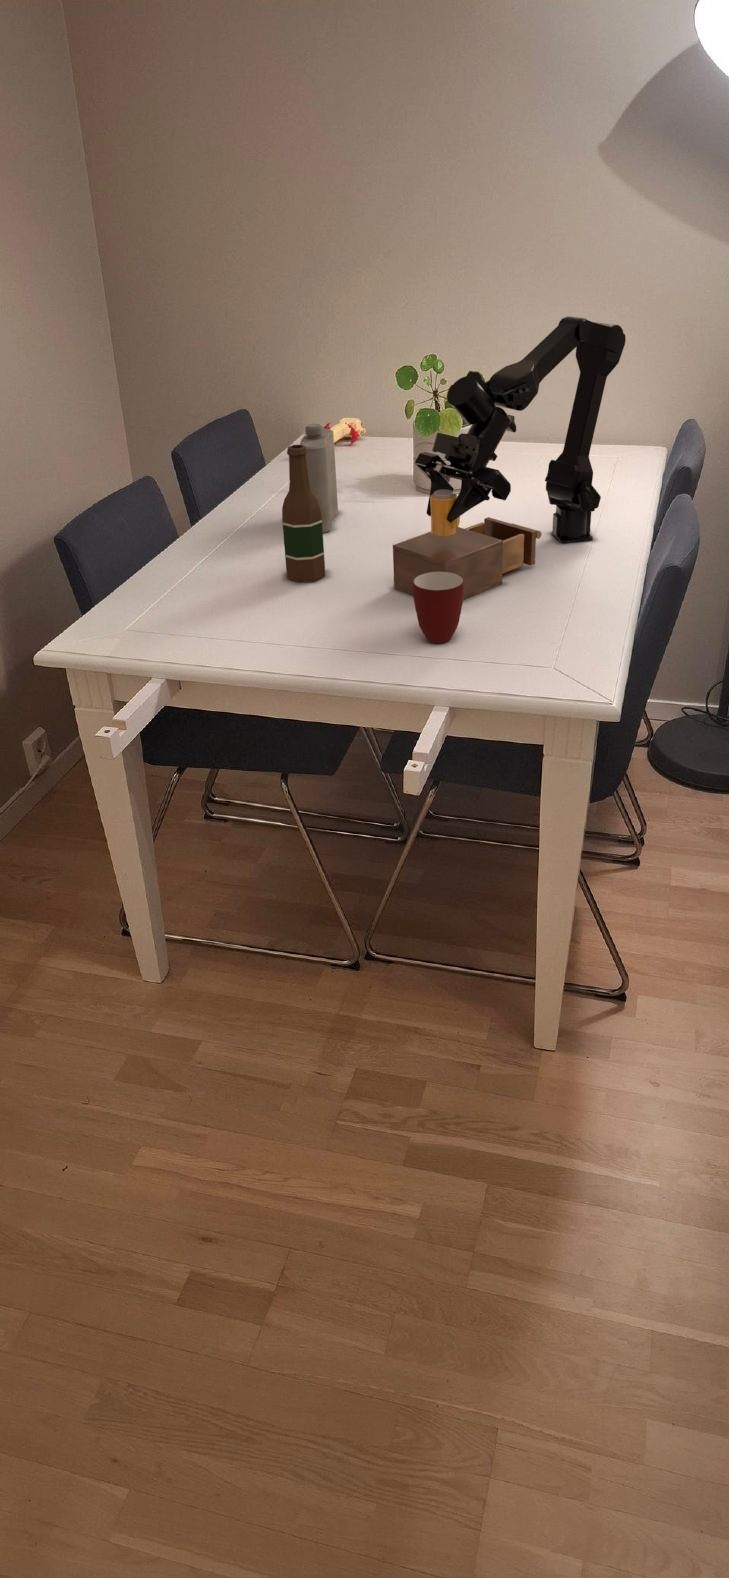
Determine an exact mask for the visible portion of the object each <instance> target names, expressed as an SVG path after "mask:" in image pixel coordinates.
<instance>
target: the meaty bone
mask: <svg viewBox="0 0 729 1578" xmlns="http://www.w3.org/2000/svg"><path fill="white" fill-rule="evenodd" d="M332 423H333V421H330V422H328V423H326V424H325V425H323V429H330V430H332V431H333V434H334V444H335V443H336V442H337V441H339V440H341V439H343V438H351V440H350V443H348V446H351V445H353V444H354V443H356V441H358V439H359V438H360V437H362V435H364V434H365V433H366V431H367V430H366V428H363V427H362V426H363V422H362V420H361V419H360V418H357V417H343V418H342V419H340V420H339V421H338V422H337V423H338V424H334V425H333V426H332V427H330V424H332Z"/></svg>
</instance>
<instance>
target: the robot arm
mask: <svg viewBox="0 0 729 1578" xmlns="http://www.w3.org/2000/svg"><path fill="white" fill-rule="evenodd" d="M626 340H627V339H626V334H625V333H624V329H623V328H622V326H621V325H619V324H613V323H606V322H598V321H597V322H596V321H591V320H588V319H587V318H585V317H579V316H570V315H569V316H565V317H563V318H561V319H560V321H559V322H558V325H557V326H556V327H555V328H554V329H553V330H552V331H551V332H550V333H549V334H548V335H547V336H545V337H544V338H543V339H542V340H541V341H540V342H539V343H538V344H537V345H536V346H535V347H534V348H533V349H532V350H531V351H529V352H528V354H526V356H525V357H523V358H522V359H521V360H519V361H517V362H514V363H511V364H508V365H505V366H504V367H502V368H501V369H499V370H498V371H496V372H495V373H493V374H492V375H491V377H490V378H489V379H488V380H486V381H484V379H483V376H482V375H481V374H480V372H478V371H474V370H473V371H472V370H469V371H468V372H467V374H466V375H465V376H463V377H460V378H459V379H457V380H456V381H455V382H454V383H452V384H451V385H450V386H449V388H448V390H447V393H446V400H447V402H448V404H449V405H450V407H452V408H453V410H454V411H455V412H456V413H457V414H458V415H459V417H460V418H461V419H462V420H463V421H464V423H466V424H468V425H471V426H470V428H469V429H468V431H467V432H466V433H465V432H464V433H460V434H459V435H458V436H456V435H455V436H454V435H450V434H445V433H441V432H436V434H435V435H436V436H435V438H434V443H433V447H432V449H431V450H432V451H431V452H433V453H431V452H429V451H423V452H421V453H419V454H418V456H417V457H416V459H415V461H414V463H413V464H414V465H415V466H416V467H417V468H418V470H419V471H420V472H421V473H422V474H423V475H424V476H425V477H427V479H428V480H429V481H430V489H429V496H428V502H427V507H426V515H427V516H428V517H431V504H430V496H431V495H432V494H434V492H435V491H437V490H443V489H446V490H452V491H453V492H454V490H455V488H454V487H453V486H452V485H451V484H450V481H451V479H455V480H458V481H461V482H460V483H461V484H460V490H459V493H458V495H457V498H456V500H455V502H454V504H453V506H452V508H451V510H450V512H449V514H448V516H447V521H448V522H452V521H454V520H455V519H457V518H458V517H460V518H461V516H463V515H464V514H466V513H467V512H468V511H469V510H472V509H473V508H475V507H476V506H478V505H479V504H482V503H483V502H484V501H490V499H491V498H490V496H489V495H490V494H491V496H492V498H493V499H498V500H501V501H507V499H508V497H509V496H510V494H511V492H512V485H511V483H510V481H509V480H508V479H507V478H506V476H504V474H502V472H501V471H500V470H499V469H496V468H491V467H488V464H489V463H490V461H492V462H496V461H497V458H498V455H497V454H496V450H497V448H498V446H499V445H500V443H501V441H502V439H503V437H504V436H505V435H506V433H507V432H510V433H516V432H517V424H516V422H515V418H516V417H515V415H511V414H508V413H507V412H506V411H505V409H508V410H513V411H518V412H519V411H520V412H522V411H524V410H526V409H527V408H528V407H529V405H530V404H531V403H532V401H533V400H534V399H535V398H536V397H537V395H538V393H539V389H540V383H541V382H542V381H543V380H544V379H545V378H546V377H547V376H548V375H549V374H550V373H551V372H552V371H553V370H555V368H556V367H557V366H559V364H560V363H561V362H563V361H564V359H565V358H567V357H568V356H569V355H570V354H571V353H572V352H573V351H574V350H575V359H576V363H577V366H578V369H579V376H578V381H577V385H576V389H575V395H574V399H573V404H572V407H571V411H570V412H571V413H570V417H569V421H568V426H567V431H566V435H565V440H564V443H563V444H564V445H563V448H562V452H561V453H560V454H559V455H558V456H557V458H556V459H551V460H550V461H549V463H548V468H547V473H546V477H545V478H544V482H545V491H546V492H547V497H548V502H549V505H551V506H552V505H553V506H555V512H554V513H553V514H552V528H551V529H552V530H551V534H552V535H553V536H554V537H555V538H556V539H557V540H558V541H559V542H560V543H563V544H564V543H574V542H585V541H592V540H593V539H594V537H593V536H592V534H591V524H592V512H595V511H596V509H598V508H599V506H600V502H601V499H602V496H601V494H600V493H599V492H598V491H597V490H596V488H595V486H593V480H594V479H593V477H594V470H593V467H592V463H591V460H590V453H591V448H592V444H593V439H594V435H595V431H596V426H597V422H598V417H599V412H600V408H601V405H602V400H603V395H604V391H605V386H606V382H607V378H608V376H609V375H610V374H611V373H612V371H613V370H614V369H615V368H616V367H617V366H618V364H619V363H620V361H621V358H622V355H623V351H624V348H625V345H626ZM435 453H440V454H443V455H444V457H443V458H444V459H445V460H446V461H447V462H449V463H450V464H447V463H446V462H445V461H444V459H443V458H441V457H440V455H439V454H435Z"/></svg>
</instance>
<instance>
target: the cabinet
mask: <svg viewBox="0 0 729 1578" xmlns="http://www.w3.org/2000/svg"><path fill="white" fill-rule="evenodd" d="M392 567H393V589H394V590H397V591H399V592H403V593H405V594H408V595H411V596H413V580H414V579H415V578H416V577H417V576H419V575H422V574H425V573H430V572H449V573H454V574H457V575H459V576H461V577H462V578H463V581H464V597H463V601H465V600H468V599H470V598H472V597H475V596H477V595H480V594H483V593H484V592H486V591H489V590H491V589H495V588H496V587H498V586H501V585H503V574H502V568H503V540H500V539H496V538H493V537H490V536H487V535H483V534H480V533H477V532H473V531H470V530H467V529H465V528H463V527H460V526H458V527H457V533H455V534H453V535H450V536H437V535H433V534H432V533H431V531H428V532H426V533H423V534H420V535H417V536H415V537H412V538H409V539H405V540H403V541H400V542H397V543H395V544H392Z"/></svg>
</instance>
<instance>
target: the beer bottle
mask: <svg viewBox="0 0 729 1578" xmlns="http://www.w3.org/2000/svg"><path fill="white" fill-rule="evenodd" d="M286 454H287V456H288V472H289V474H288V475H289V476H288V477H289V483H288V484H289V485H288V486H289V487H288V492H287V493H286V496H285V497H284V499H283V503H282V507H281V521H282V533H283V534H282V535H283V536H282V537H283V546H284V547H283V548H284V558H285V569H286V575H287V579H288V580H289V581H293V582H296V583H313V582H317V581H319V580H321V579H323V578H325V576H326V561H325V550H324V549H325V548H324V533H323V529H322V515H321V508H320V504H319V501H318V499H317V497H316V496H315V494H314V493H313V492H312V490H311V487H310V483H309V477H308V469H307V461H306V454H307V449H306V446H304V445H300V444H291V445H290V446H287V450H286Z"/></svg>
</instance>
